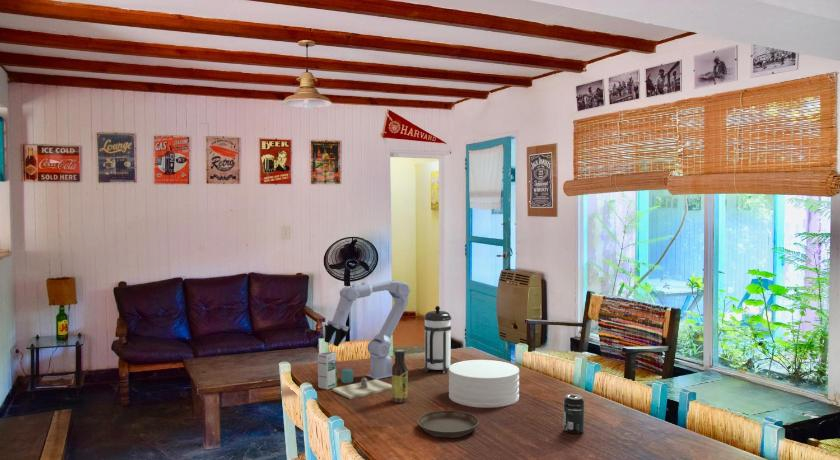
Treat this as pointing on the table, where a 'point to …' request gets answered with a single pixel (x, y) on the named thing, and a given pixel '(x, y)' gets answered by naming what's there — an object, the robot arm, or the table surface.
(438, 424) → the plant saucer
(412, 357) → the table surface
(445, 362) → the coffee press
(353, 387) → the post board
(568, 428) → the beverage can
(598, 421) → the table surface
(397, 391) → the sauce bottle
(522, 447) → the table surface
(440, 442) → the table surface
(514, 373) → the plate stack
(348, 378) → the teal cube
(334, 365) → the syrup box
